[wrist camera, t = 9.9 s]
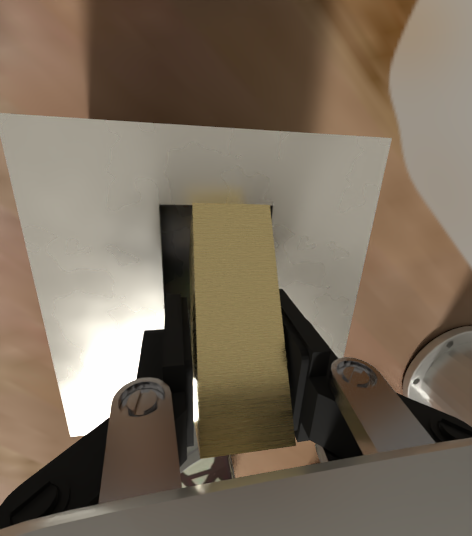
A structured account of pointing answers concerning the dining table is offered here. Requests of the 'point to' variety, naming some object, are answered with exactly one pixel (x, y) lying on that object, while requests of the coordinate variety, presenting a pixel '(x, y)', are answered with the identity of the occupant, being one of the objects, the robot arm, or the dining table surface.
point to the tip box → (175, 230)
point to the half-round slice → (204, 467)
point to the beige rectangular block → (237, 332)
